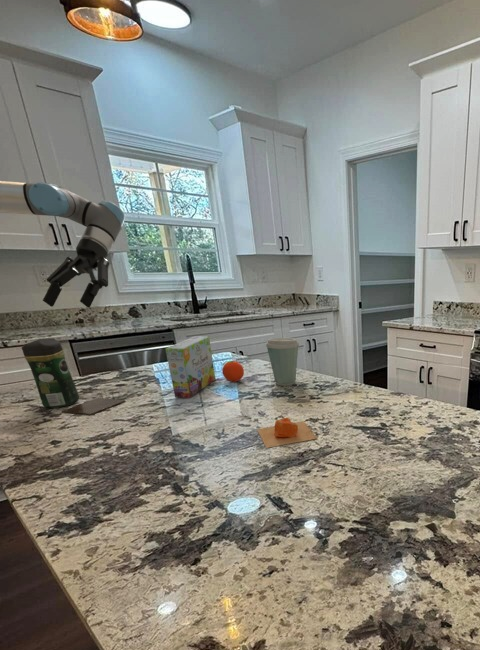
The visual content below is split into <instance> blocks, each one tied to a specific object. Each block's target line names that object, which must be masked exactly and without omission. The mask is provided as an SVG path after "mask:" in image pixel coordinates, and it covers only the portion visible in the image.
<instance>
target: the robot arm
mask: <svg viewBox="0 0 480 650" xmlns="http://www.w3.org/2000/svg"><path fill="white" fill-rule="evenodd" d="M97 203H98V204H97ZM97 203H95V202H92V201H91V200H88V199H86V198H84V197H82V196H81V195H78V194H76V193H74V192H73V191H70V190H68V189H67V188H65V187H63V186H61V185H57V184H55V183H47V182H36V183H33V182H31V183H30V182H29V183H27V182H20V181H19V182H17V181H5V180H0V214H16V215H31V216H32V215H34V216H48V217H49V216H50V217H59V218H64V219H68V220H70V221H72V222H75V223H77V224H80V225H82V226H84V227H85V230H84V231H83V233H82V235H81V237H80V239H79V241H78V243H77V245H76V246H75V251H76V254H77V255H76V257H75V258H72V257H70V256H66V258H65V259H64V261H63V262H62V263H61V264H60V265H59V266H58V267H57V268H56V269H55V270H54V271H53V272H52V273H51V274H50V275H49V276H48V277H47V278H46V281H47V282H48V283H49V284H50V285H49V287H48V289H47V290H46V293H45V295H44V297H43V299H42V301H43V302H44V303H46V304H47V305H48V306H49V307H54V306H55V304H56V301H57V300H58V298H59V296H60V294H61V292H62V290H63V288H62V287H63V286H65V284H67V283H68V282H69V281H72V280H73V279H74V278H75V277H80V276H81V275H82V274H83V275H84V274H86V275H87V274H88V276H89V278H90V282H88V284H87V285H86V288H85V289H84V292H83V293H82V295H81V298H80V299H79V302H80V303H81V304H83V305H84V306H85V307H86V308H91V306H92V304H93V302H94V300H95V298H96V296H98V293H99V291H100V289H102V288H103V287H105V288H107V287H108V286H109V266H110V262H109V261H108V259H107V258H108V256H109V254H110V252H111V251H112V250H111V249H112V248H113V245H114V244H115V242H116V240H117V238H118V236H119V234H120V232H121V230H122V228H123V225H124V222H125V220H126V216H125V213H124V211H123V210H122V208H120V207H119V206H118V205H117V204H115V203H114V202H112V201H109V200H105V199H104V200H101V201H100V202H97Z"/></svg>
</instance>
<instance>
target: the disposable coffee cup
mask: <svg viewBox="0 0 480 650" xmlns="http://www.w3.org/2000/svg"><path fill="white" fill-rule="evenodd" d="M299 343H300V342H299V341H298V340H297V338H291V337H275V338H274V337H273V338H268V339H267V341H266V342H265V347H266V349H267V354H268V358H269V361H270V365H271V370H272V374H273V378H274V382H275V384H276V385H278V386H283V387H285V386H292V385H294V384H295V383H296V380H297V379H296V378H297V367H298V355H299V354H298V353H299V346H300V344H299Z"/></svg>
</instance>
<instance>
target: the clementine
mask: <svg viewBox="0 0 480 650" xmlns="http://www.w3.org/2000/svg"><path fill="white" fill-rule="evenodd" d="M221 370H222V376H223V377H224V378H225V379H226V380H227V381H229V382H232V383H235V382H238V381H241V380H242V378H243V377H244V374H245V369H244V366H243V365H242V364H241V363H239V362H238V361H236V360H228V361H225V362H223V363H222V369H221Z"/></svg>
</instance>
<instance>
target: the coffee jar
mask: <svg viewBox="0 0 480 650" xmlns="http://www.w3.org/2000/svg"><path fill="white" fill-rule="evenodd" d="M21 350H22V354H23V357H24V359H25V360H26V362H27V364H28V367H29V368H30V370H31V373H32V377H33V379H34V383H35V385H36V388H37V391H38V395H39V398H40V401H41V404H42V406H43V407H44V408H49V409H58V408H59V409H60V408H62V407H66V406H67V407H68V406H70V405H72V404H74V403H76V402H77V401H78V400H79V399H80V394H79V391H78V388H77V387H76V383H75V382H74V379H73V376H72V373H71V371H70V369H69V366H68V363H67V360H66V356H65V351H64V348H63V346H62V344H61V342H60V341H59V340H58V339H56V338H53V337H51V338H50V337H49V338H38V339H36V340H33V341H30V342H27V343H24V345H22V346H21Z"/></svg>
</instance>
